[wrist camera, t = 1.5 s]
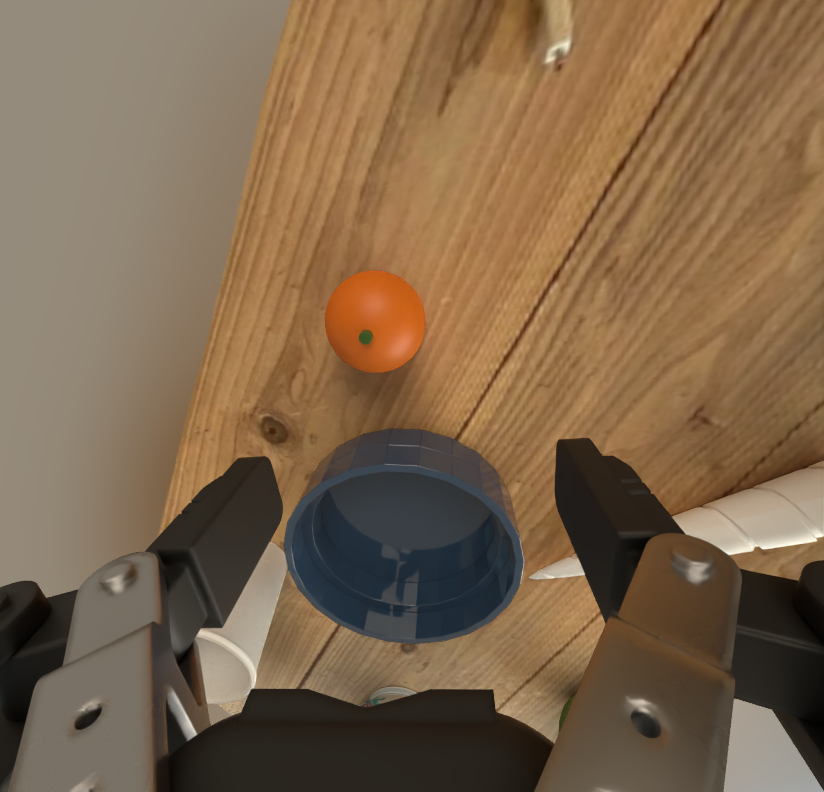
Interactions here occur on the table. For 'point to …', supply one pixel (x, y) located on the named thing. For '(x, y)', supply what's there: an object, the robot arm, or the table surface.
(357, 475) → the bowl
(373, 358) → the mandarin
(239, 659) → the dixie cup
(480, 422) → the table surface
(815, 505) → the unicorn horn
